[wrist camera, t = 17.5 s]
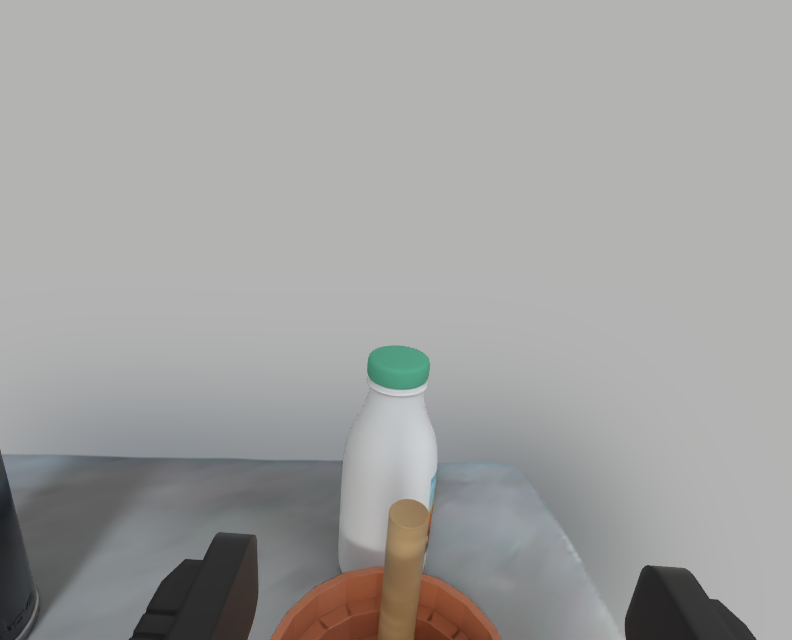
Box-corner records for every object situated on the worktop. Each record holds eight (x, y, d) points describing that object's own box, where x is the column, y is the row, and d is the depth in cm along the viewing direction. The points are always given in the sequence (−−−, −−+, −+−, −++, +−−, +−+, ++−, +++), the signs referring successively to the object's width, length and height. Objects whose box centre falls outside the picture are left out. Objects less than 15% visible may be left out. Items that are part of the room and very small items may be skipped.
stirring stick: (345, 774, 27) (360, 545, 21) (353, 690, 31) (367, 479, 25) (422, 779, 27) (458, 552, 21) (419, 694, 31) (449, 485, 25)
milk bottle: (410, 614, 37) (437, 390, 30) (322, 581, 39) (328, 365, 32) (434, 542, 44) (461, 347, 37) (358, 518, 46) (370, 329, 39)
